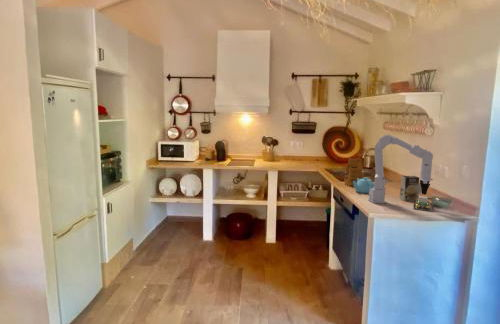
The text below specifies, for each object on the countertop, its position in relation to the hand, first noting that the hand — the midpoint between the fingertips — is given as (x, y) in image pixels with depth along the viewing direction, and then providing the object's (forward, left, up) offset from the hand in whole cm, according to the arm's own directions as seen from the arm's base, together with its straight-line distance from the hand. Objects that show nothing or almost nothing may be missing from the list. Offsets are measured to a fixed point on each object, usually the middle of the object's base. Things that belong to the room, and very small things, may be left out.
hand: (423, 193), depth 202 cm
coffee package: (-18, +65, -10) cm, 68 cm away
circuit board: (0, 0, -7) cm, 7 cm away
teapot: (-18, +43, -10) cm, 48 cm away
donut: (+12, +29, -10) cm, 33 cm away
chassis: (0, 0, -9) cm, 9 cm away
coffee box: (+2, +19, -10) cm, 21 cm away
